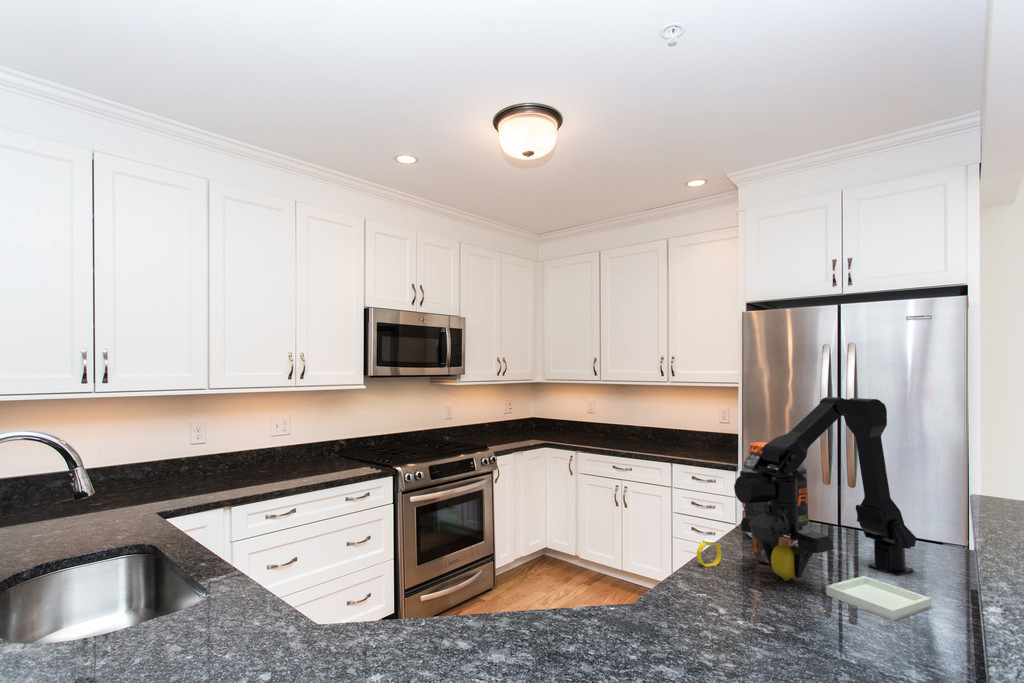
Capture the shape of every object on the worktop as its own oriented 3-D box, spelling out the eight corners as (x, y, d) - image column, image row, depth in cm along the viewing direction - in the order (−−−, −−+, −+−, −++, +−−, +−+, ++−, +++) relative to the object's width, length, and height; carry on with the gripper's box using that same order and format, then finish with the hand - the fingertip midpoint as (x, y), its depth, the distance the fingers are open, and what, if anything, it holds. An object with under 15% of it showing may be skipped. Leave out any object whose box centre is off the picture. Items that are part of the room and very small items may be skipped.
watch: (715, 563, 125) (716, 538, 125) (723, 567, 122) (724, 541, 123) (694, 564, 123) (695, 538, 124) (701, 568, 121) (702, 542, 121)
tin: (761, 566, 122) (760, 530, 123) (750, 562, 125) (749, 527, 125) (801, 556, 129) (800, 522, 130) (789, 552, 132) (788, 519, 132)
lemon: (803, 586, 110) (802, 548, 111) (775, 584, 111) (774, 546, 112) (795, 576, 116) (793, 540, 116) (768, 575, 117) (767, 538, 117)
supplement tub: (809, 552, 132) (805, 449, 134) (742, 542, 140) (739, 445, 142) (809, 535, 146) (806, 443, 148) (749, 527, 154) (746, 439, 156)
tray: (864, 584, 111) (863, 575, 112) (931, 607, 100) (931, 598, 100) (826, 594, 106) (825, 585, 106) (893, 620, 95) (893, 610, 95)
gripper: (722, 495, 120) (724, 564, 119) (797, 514, 103) (800, 595, 102) (756, 491, 125) (758, 557, 123) (833, 508, 108) (836, 586, 107)
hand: (785, 572), depth 114 cm, fingers open, 6 cm apart
